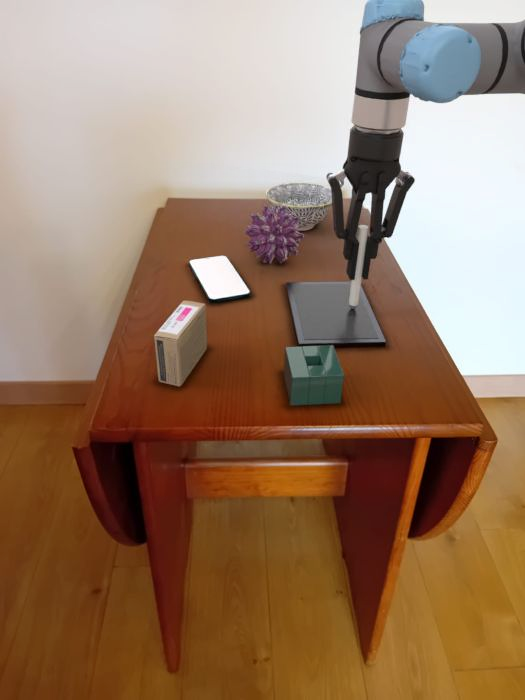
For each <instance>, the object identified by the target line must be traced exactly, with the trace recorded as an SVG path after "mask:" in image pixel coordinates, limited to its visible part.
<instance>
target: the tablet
mask: <svg viewBox="0 0 525 700" xmlns="http://www.w3.org/2000/svg"><path fill="white" fill-rule="evenodd" d="M285 290H286V295H287V300H288V305H289V310H290V314H291V319H292V324H293V328H294V333H295V338H296V343H297V347H302V346H327V345H333V346H334V349H345V348H346V349H347V348H348V349H349V348H385V347H386V345H387V344H386V343H387V341H386V338H385V335H384V334H383V331H382V329H381V326H380V325H379V323H378V320H377V318H376V315H375V313H374V311H373V309H372V307H371V304H370V302H369V299H368V298H367V295H366V292H365V290H364V289H363V286H362V285H361V287H360V294H359V302H358V305H357V307H356V308H355V309H351V308H350V304H349V298H350V290H351V281H291V282H290V281H289V282H285Z"/></svg>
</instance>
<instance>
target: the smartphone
mask: <svg viewBox="0 0 525 700" xmlns="http://www.w3.org/2000/svg"><path fill="white" fill-rule="evenodd" d="M188 265H189V268H190V270H191V271H192V273H193V275H194V277H195V279H196V281H197V282H198V284H199V286H200V288H201V290H202V291H203V293H204V295H205V297H206V299H207V301H208V302H209V303H212V304H216V303H217V304H218V303H223V302H229V301H234V300H239V299H245V298H249V297H250V296H251V290H250V288H249V287H248V285H247V284H246V283H245V281H244V280H243V278H242V277H241V276H240V274H239V272H238V271H237V269H236V268H235V267H234V265H233V264H232V262H231V261H230V259H229V258H228V257H227V255H215V256H209V257H202V258H201V257H199V258H194V259H190V260H189V261H188Z"/></svg>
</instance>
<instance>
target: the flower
mask: <svg viewBox="0 0 525 700" xmlns="http://www.w3.org/2000/svg"><path fill="white" fill-rule="evenodd" d="M263 207H264V209H262V210H261V211H262V212H261V213H262V215H261V214H259V213H258V212H256V213H255V214H254V213H251V214H250V218H251V219H252V221H251V224H252V225H247V226H246V229H247V230H244V235H245V236H249V237H250V240H248V242H246V243H245V244H246V247H250V246H251V247H250V248H249V252H250V253H252V252H256V255H255V257H256V259H259V257H261V256H262V262H263V263H265V264H266V263H268V264H272V262H273V260H274V259H277V261H278V263H279V264H283V262H285V261H288V256H289V257H290V256H291V254H293V255H294V256H298V253H299V251H298V250H297V248H298V247H299V244H300V242H301V239H304V238H305V234H304V233H300V232H299V231H298V228H300V227H302V225H301V224H296V223H297V221H298V220H299V219H300V218H299V217H296V218H293V219H291V217H292V214H293V212H292V211H291V212H290V213H287V214H286V206H283V207H282V209H280V210H279V205H276V208H275V209H274V210H272V209H271V207H269V205H268V204H264V206H263Z"/></svg>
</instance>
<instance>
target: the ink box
mask: <svg viewBox="0 0 525 700" xmlns="http://www.w3.org/2000/svg"><path fill="white" fill-rule="evenodd" d="M207 332H208V331H207V307H206V303H203V302H198V301H192V300H182V302H180V304H179V305H178V306H177V308H175V310H174V311H173V312H172V313H171V314H170V315H169V317H168V318H167V319H166V321H165V322H163V324H162V325H161V327H159V328H158V330H157V331H156V332H155V334H153V337H154V338H153V339H154V348H155V349H154V350H155V359H156V360H155V361H156V369H157V370H156V371H157V378H158V382H159V383H163V384H167V385H171V386H175V387H179V388H180V387H181V386H182V385H184V383H185V381H187V378H188V377H189V376H190V374H191V373H192V371H193V369H194V368H195V367H196V365H197V363H198V362H199V361H200V360H201V358H202V357H203V355H204V354H205V352H206V351H207V349H208V337H207V336H208V335H207V334H208V333H207Z"/></svg>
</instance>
